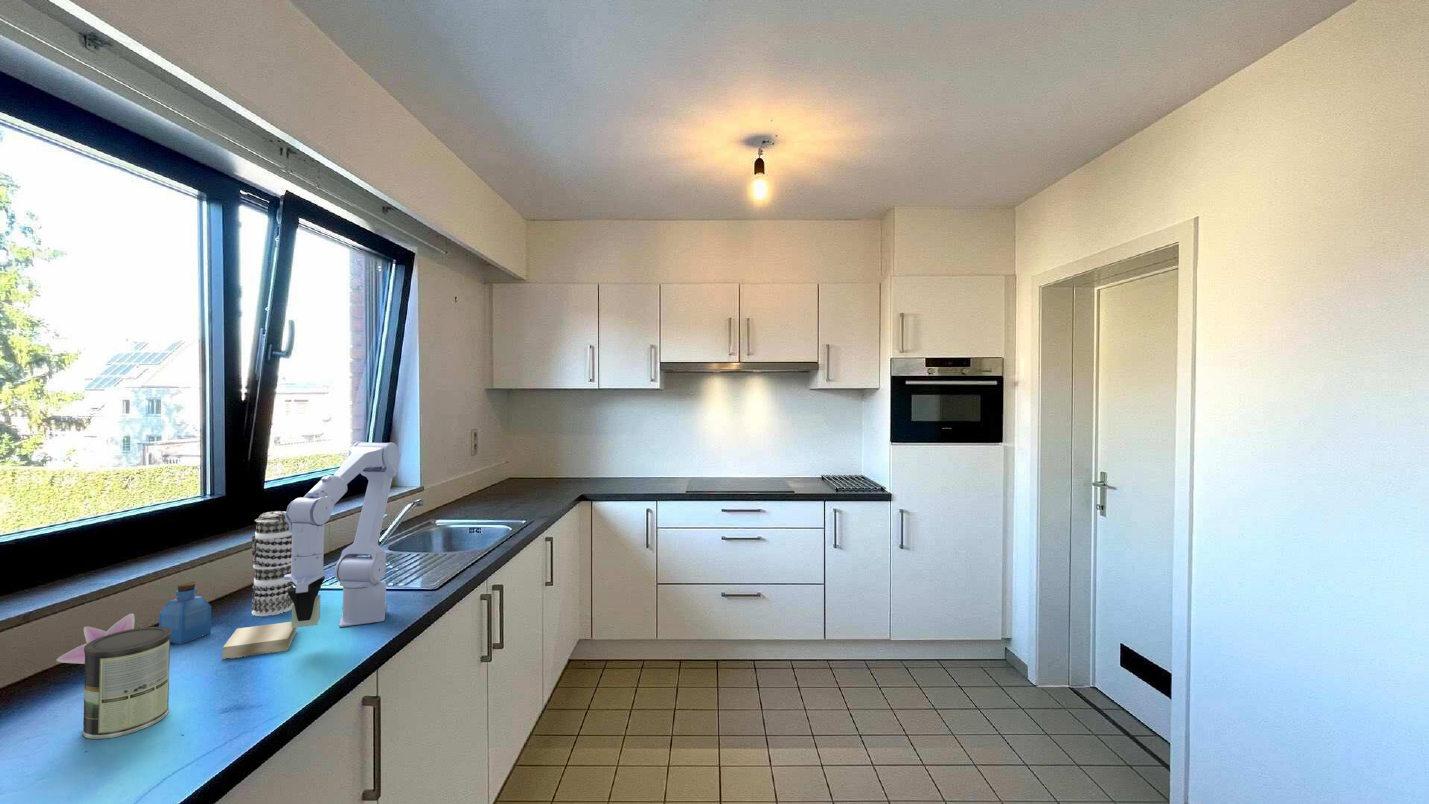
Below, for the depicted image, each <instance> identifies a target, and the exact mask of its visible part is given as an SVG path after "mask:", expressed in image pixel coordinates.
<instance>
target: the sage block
mask: <svg viewBox="0 0 1429 804" xmlns="http://www.w3.org/2000/svg"><path fill="white" fill-rule="evenodd" d="M320 619H321V595H320V594H318V595H317V596H316V598H315V602H314V606H313V612H312V616H311V618H310V620H306V621H298V619H297V615H296V610H295V606H294V603H292V609H291V622H292V627H291V628H296V629H297V628H303V627H310V626H317V625H318V623H319V621H320Z"/></svg>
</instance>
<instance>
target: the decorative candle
mask: <svg viewBox="0 0 1429 804" xmlns="http://www.w3.org/2000/svg"><path fill="white" fill-rule="evenodd" d="M285 513H286V511H283V510H282V511H281V510H275V511H267V512H263V513H261V514H260V515H259V516H258V518H256V519H254V522H256V526H255V527H256V531H255V532H254V535H253V536H251V541H252V542H253V544H252V545H251V547H252V551H251V555H252V556H254V557H253V558H252V560H251V561H252V563H253V565H252V568H253V569H255V572H254V573H255V575H254V576H255V577H254V578H253V585H252V587H251V589H252V590H253V591H252V593H251V595H252V596H253V597H252V600H251V603H252V606H251V610H252V611H251V615H252V616H254V615H255V616H254V617H269V616H268V615H272V616H276V615H281V614H284V613H283V612H285V613H287V612H290V611H292V604H293V601H292V599H291V598H290V596H289V595H288V589H289V588H294V584H293V582H292V581H291V580H284V576H285V575H287V574H291V551H292V533H290V531H289V524H288V522H287V521H286V519H285ZM280 613H281V614H280Z"/></svg>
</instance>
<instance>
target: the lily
mask: <svg viewBox="0 0 1429 804" xmlns="http://www.w3.org/2000/svg"><path fill="white" fill-rule="evenodd" d="M135 622H136V621H135V613H132V612H131V613H128V614H127V615H125V616H124V617H122V618H121V619H119V620H118V621H117V622H116V623H114V624H113V625H112V626H111V627H109V628H108V630H106V631H105V630H103V629H100V628H97V627H92V626H84V627H83V635H84V639H85V642H86V643H85V644H81V645H79V646H77V647H75V648H74V649H73V648H72V649H71V650H69V651H67V652H66V653H64V654H61V655H60V656H59V657H58V658H57V659H56V662H58V663H61V664H62V663H63V664H64V663H65V664H80V665H81V664H82V665H83V664H84V665H85V653H84V647H85V645H86V644H88V643H89V642H91V641H93V640H95V639H98V638H100V637H103V636H106V635H109V634H112V633H116V632H120V631H125V630H130V629H135Z"/></svg>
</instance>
